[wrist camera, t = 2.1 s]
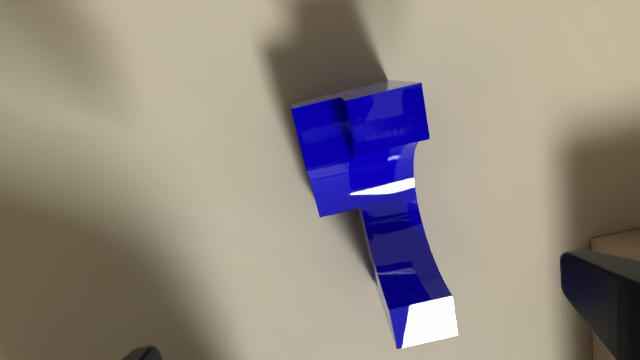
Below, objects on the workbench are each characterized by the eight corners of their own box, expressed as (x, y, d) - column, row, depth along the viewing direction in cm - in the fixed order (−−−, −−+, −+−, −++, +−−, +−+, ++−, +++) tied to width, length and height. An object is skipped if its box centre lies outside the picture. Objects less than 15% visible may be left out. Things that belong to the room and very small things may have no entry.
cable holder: (293, 102, 13) (289, 114, 9) (386, 80, 13) (421, 82, 9) (339, 288, 15) (351, 359, 12) (419, 270, 15) (458, 335, 12)
